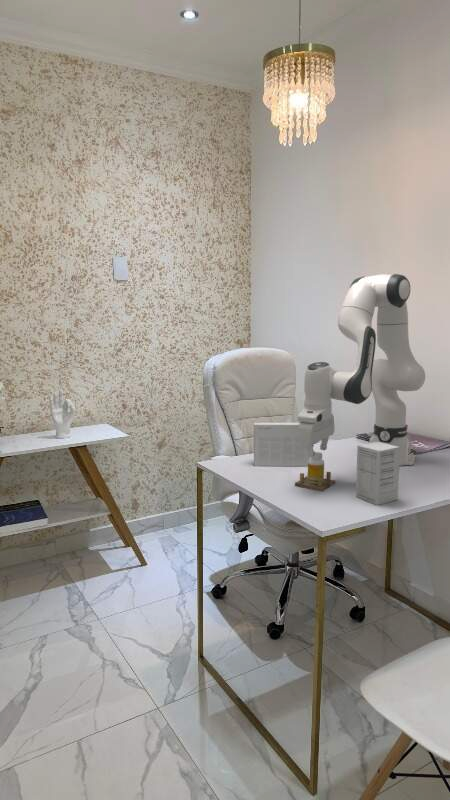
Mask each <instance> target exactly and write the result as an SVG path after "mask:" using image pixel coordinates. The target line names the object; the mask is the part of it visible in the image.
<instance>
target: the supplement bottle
mask: <svg viewBox="0 0 450 800" xmlns="http://www.w3.org/2000/svg"><path fill="white" fill-rule="evenodd" d="M306 477H307V481H308V482H310V483H313V484H318V477H323V481H324V479H325V460H324V459H323V453H322V452H319V451H315V456H313V457H310V459H309V460H308V466H307V476H306ZM323 481H322V483H323Z"/></svg>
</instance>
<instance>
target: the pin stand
mask: <svg viewBox="0 0 450 800" xmlns="http://www.w3.org/2000/svg"><path fill="white" fill-rule="evenodd" d="M331 478H332V472H331V471H326V478H324V481H323V477H318V484H313V483H310V482H308V481H307V476H305V473H303V472H301V473H299V480H298V481H295V482H294V486H295V487H299V488H303V489H309V490H314V491H319V492H324V491H326V490H328V488H330V487H333V485H335V484H336V480H334V479H331ZM322 481H323V483H322Z"/></svg>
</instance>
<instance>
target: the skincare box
mask: <svg viewBox="0 0 450 800" xmlns="http://www.w3.org/2000/svg"><path fill="white" fill-rule="evenodd" d="M299 423H300V422H253V464H254V467H308V460H309V459H311V458H310V457H308V451H307V448H306V446H302V445H300V442H299Z"/></svg>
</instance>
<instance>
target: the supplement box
mask: <svg viewBox="0 0 450 800" xmlns="http://www.w3.org/2000/svg"><path fill="white" fill-rule="evenodd" d="M356 447H357V450H356V451H357V453H356V474H355V475H356V479H355V481H356V482H355V497H356V498H358V499H361V500H364V501H366V502H369V503H371V504H375V505H377V506H379V505H383V504H386V503H390V502H393V501H398V499H399V481H400V480H399V479H400V477H399V476H400V466H399V458H400V447H398V446H394V445H389V444H385V443H381V442H372V443H370V442H367V443H362V444H358V445H357V446H356Z"/></svg>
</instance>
